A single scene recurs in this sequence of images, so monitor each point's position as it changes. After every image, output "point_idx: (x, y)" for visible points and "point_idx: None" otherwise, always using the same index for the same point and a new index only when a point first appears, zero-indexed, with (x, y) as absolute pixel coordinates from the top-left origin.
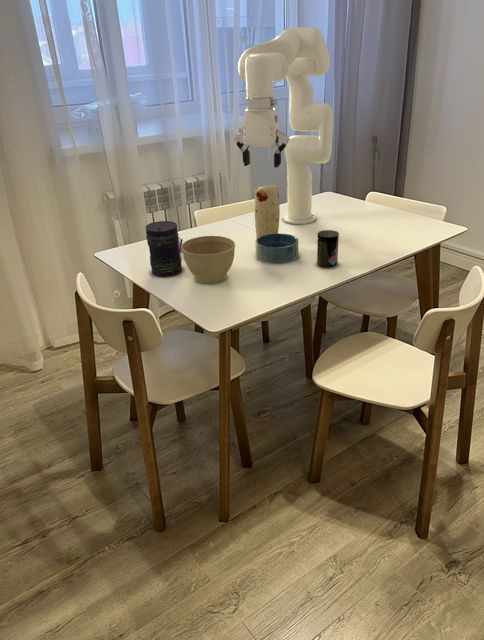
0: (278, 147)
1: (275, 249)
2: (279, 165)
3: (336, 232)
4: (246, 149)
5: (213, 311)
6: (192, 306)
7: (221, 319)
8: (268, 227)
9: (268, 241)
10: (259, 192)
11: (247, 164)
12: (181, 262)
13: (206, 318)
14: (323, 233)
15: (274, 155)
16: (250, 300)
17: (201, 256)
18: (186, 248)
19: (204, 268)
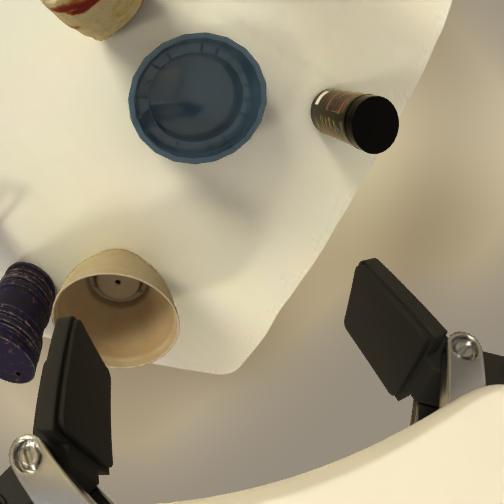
0: (462, 384)
1: (220, 157)
2: (372, 260)
3: (392, 112)
4: (88, 481)
5: (205, 352)
6: (168, 355)
7: (228, 359)
8: (127, 15)
9: (149, 63)
10: (67, 3)
11: (102, 365)
12: (42, 284)
13: (208, 365)
14: (366, 127)
15: (392, 391)
16: (239, 309)
17: (143, 362)
18: None
19: (143, 338)
